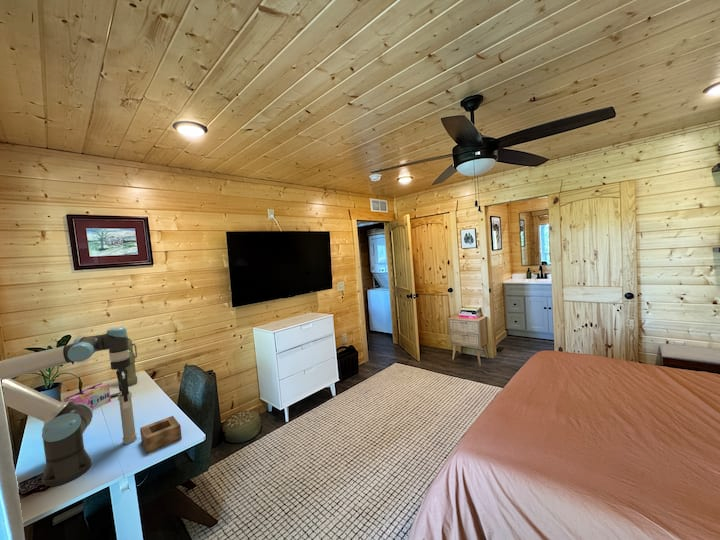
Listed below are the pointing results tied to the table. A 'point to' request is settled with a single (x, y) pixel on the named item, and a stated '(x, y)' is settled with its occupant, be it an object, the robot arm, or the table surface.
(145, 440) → the socket block
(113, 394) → the multiport hub
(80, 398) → the gum box
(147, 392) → the table surface
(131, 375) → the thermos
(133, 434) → the cream tapered cylinder
